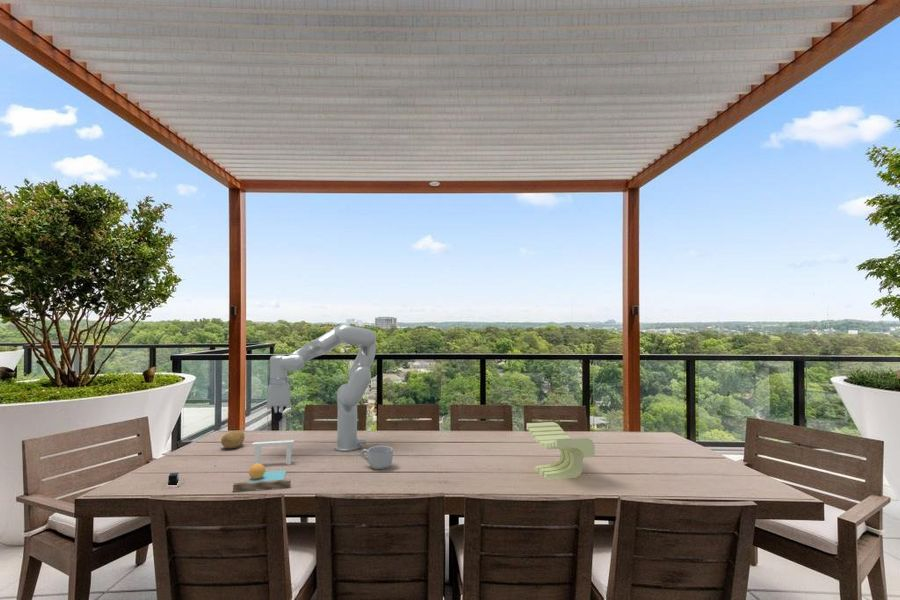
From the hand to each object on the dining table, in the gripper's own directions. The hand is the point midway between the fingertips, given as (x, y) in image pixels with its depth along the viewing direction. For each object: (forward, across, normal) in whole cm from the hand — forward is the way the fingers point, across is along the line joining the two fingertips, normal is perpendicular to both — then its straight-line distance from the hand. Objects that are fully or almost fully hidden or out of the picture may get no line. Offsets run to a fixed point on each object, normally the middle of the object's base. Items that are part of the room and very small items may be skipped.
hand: (278, 420), depth 222 cm
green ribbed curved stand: (+19, -116, +53) cm, 129 cm away
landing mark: (+16, +1, +31) cm, 35 cm away
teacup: (+17, -43, +28) cm, 54 cm away
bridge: (+16, +1, +14) cm, 21 cm away
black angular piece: (+16, +35, +32) cm, 50 cm away
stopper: (+16, +1, +45) cm, 48 cm away
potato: (+16, +24, -20) cm, 35 cm away
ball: (+13, +5, +33) cm, 36 cm away
